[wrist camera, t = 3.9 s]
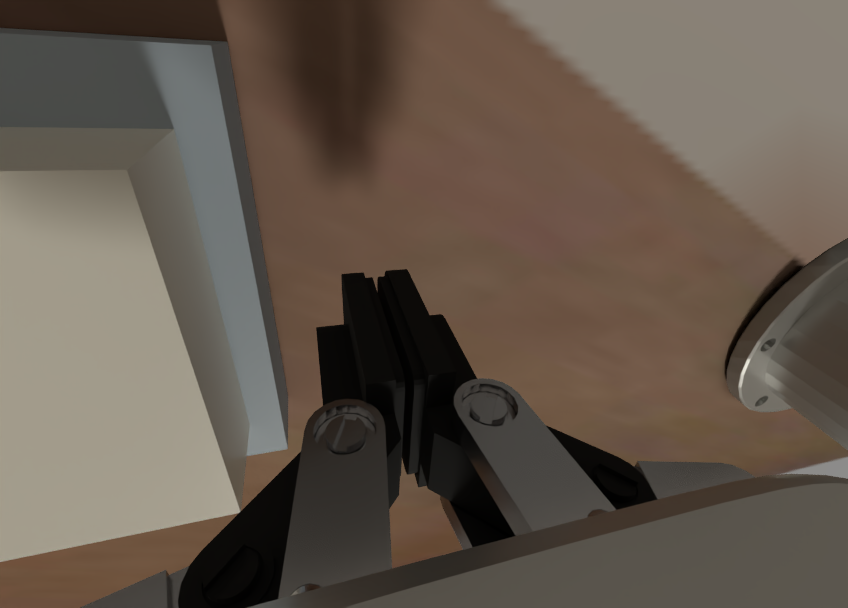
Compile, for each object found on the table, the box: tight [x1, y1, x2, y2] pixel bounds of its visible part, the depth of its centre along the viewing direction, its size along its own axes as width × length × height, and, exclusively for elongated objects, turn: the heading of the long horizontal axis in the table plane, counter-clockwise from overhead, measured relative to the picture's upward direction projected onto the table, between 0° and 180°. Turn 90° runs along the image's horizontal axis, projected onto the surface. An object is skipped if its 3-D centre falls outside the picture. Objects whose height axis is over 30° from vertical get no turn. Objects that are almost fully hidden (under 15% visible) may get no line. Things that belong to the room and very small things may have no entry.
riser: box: [0, 28, 288, 456], centre depth 11 cm, size 10×12×2 cm
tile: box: [0, 127, 250, 562], centre depth 9 cm, size 8×9×3 cm
